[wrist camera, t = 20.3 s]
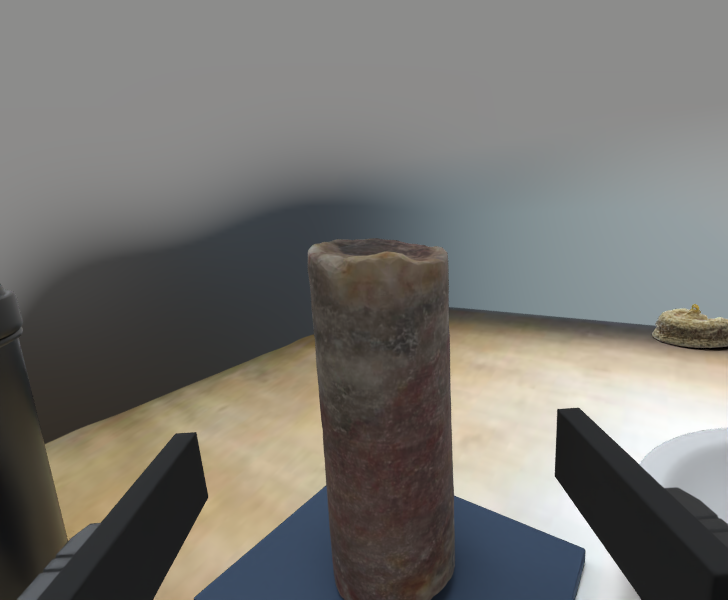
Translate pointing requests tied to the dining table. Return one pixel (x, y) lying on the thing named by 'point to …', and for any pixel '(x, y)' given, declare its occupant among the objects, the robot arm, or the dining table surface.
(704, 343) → the cake
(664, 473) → the soup bowl
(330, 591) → the mat
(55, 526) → the water bottle
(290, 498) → the dining table surface
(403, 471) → the candle
